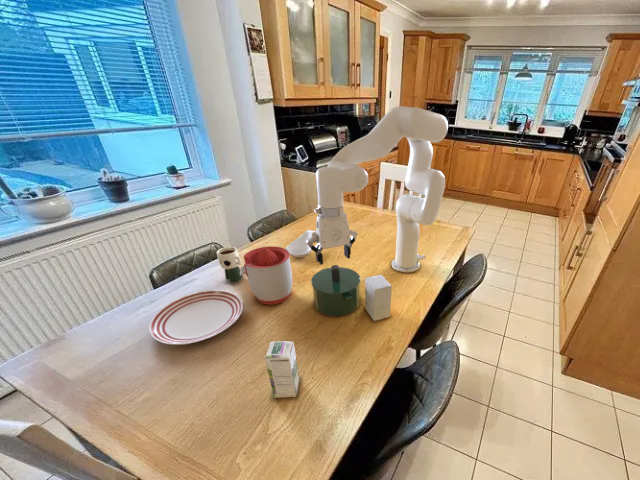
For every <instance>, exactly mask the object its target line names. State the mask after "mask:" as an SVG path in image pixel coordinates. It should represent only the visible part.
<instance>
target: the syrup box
mask: <svg viewBox="0 0 640 480" xmlns="http://www.w3.org/2000/svg"><path fill="white" fill-rule="evenodd" d="M264 361H265V366H266V371H267V374H268V377H269V383H270V388H271V390H272V391H271V392H272V396H273V398H275V399H278V398H295V397H297V395H298V390H299V385H300V373H299V368H298V361H297V354H296V348H295V342H294V341H289V340H288V341H287V340H283V341H282V340H281V341H280V340H277V341H270V343H269V346H268V349H267V352H266V355H265V358H264Z"/></svg>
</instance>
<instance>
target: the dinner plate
mask: <svg viewBox="0 0 640 480" xmlns="http://www.w3.org/2000/svg"><path fill="white" fill-rule="evenodd" d="M243 311H244V302H243V299H242V298H241V296H239V295H238V294H236V293H234V292H231V291H228V290H223V289H209V290H202V291H196V292H193V293H188V294H186V295H184V296H181V297H178V298H176V299H175V300H173V301H171V302H169V303H168V304H165V305H164V306H163V307H162V308H161V309H159V310H158V311H157V312H156V313H155V314H154V316H153V317H152V319H151V320H150V323H149V325H148V333H149V335H150V336H151V338H152V339H154V340H155V341H156V342H158V343H161V344H164V345H171V346H181V345H184V346H185V345H190V344H194V343H198V342H203V341H205V340H207V339H211V338H213V337H215V336H217V335H219V334H221V333H223V332H224V331H225V330H227V329H229V328H230V327H231V326H233V325H234V324H235V323H236V322H237V321H238V319H239V318H240V316H241V315H242V313H243Z"/></svg>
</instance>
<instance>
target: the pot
mask: <svg viewBox="0 0 640 480" xmlns="http://www.w3.org/2000/svg"><path fill="white" fill-rule="evenodd" d="M327 268H328V267H327ZM327 268H323V269H321V270H324V269H327ZM360 290H361V289H360V285H359V286H358V287H357V288H356V289H354V290H352V291H350V292H348V293H344V294H337V295H331V294H324V293H321V292H318V291H317V290H315V289H314V288H313V287H312V292H313V300H314V306H315V308H316V310H317V311H318V312H319V313H321V314H323V315H325V316H330V317H341V316H347V315H349V314H351V313H353V312H355V311H356V310H357V309H358V307H359V305H360V301H361V300H360V295H361V293H360Z"/></svg>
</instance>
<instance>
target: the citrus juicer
mask: <svg viewBox="0 0 640 480" xmlns="http://www.w3.org/2000/svg"><path fill="white" fill-rule="evenodd" d="M290 256H291V255H290V253H289V252H288V251H287V250H286V248H284V247H281V246H272V245H271V246H262V247H257V248H255V249H251V250H249V251H247V252H246V253H245V254H244V255H243V260H244V263H243V265H242V266H241V267H240V275H245V276H246V277H247V282H248V284H249V288H250V290H251V291H252V292H251V293H253V295H254V297H255V298H256V299H257V300H258V301H259V303H261V304H264V305H278V304H280V303H283V302H285V301H287V299H288V300H289V298H290V296H291V293H292V290H293V271H292V266H291V265H292V264H291V259H290Z"/></svg>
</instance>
